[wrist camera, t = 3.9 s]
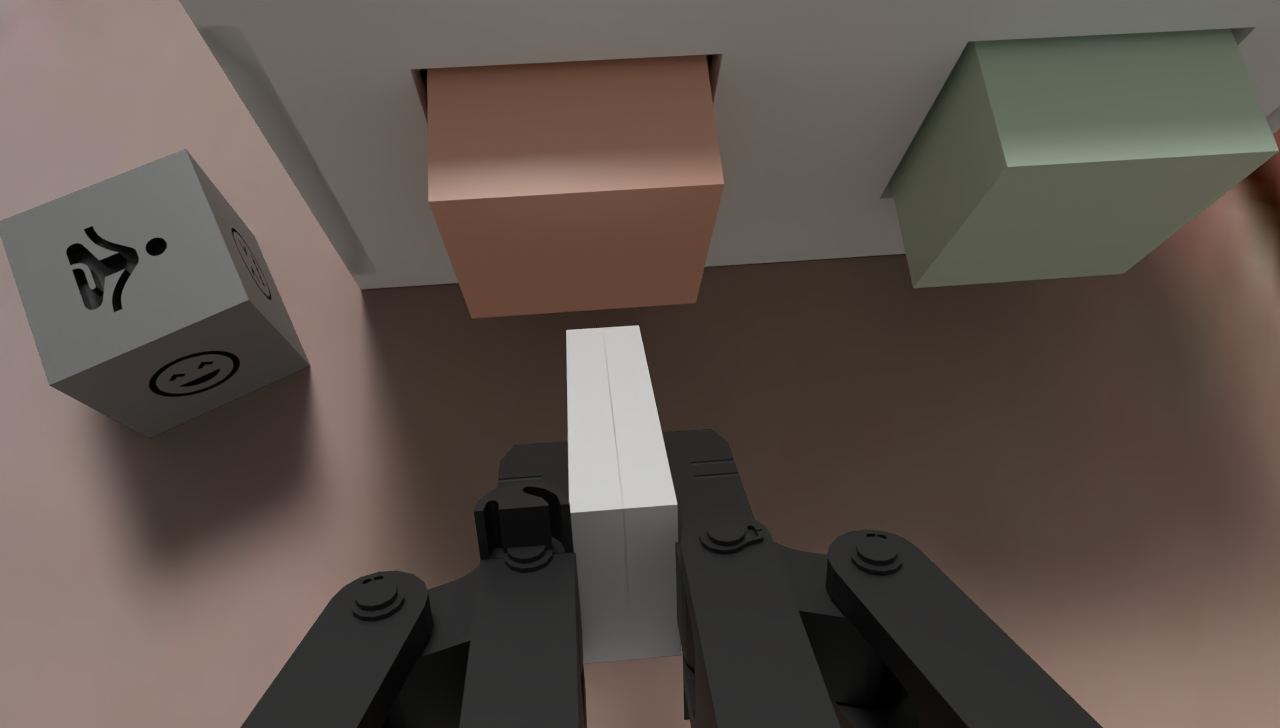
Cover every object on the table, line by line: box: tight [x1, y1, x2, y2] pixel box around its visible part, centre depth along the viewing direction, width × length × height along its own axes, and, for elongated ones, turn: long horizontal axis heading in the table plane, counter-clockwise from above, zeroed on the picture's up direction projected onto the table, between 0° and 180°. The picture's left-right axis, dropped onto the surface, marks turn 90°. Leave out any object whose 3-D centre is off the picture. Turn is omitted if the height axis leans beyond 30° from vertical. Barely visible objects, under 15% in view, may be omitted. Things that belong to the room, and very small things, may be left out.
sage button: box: [890, 28, 1279, 288], centre depth 22 cm, size 6×7×6 cm
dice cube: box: [0, 149, 310, 438], centre depth 25 cm, size 5×5×5 cm
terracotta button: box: [427, 55, 724, 318], centre depth 22 cm, size 6×7×6 cm
